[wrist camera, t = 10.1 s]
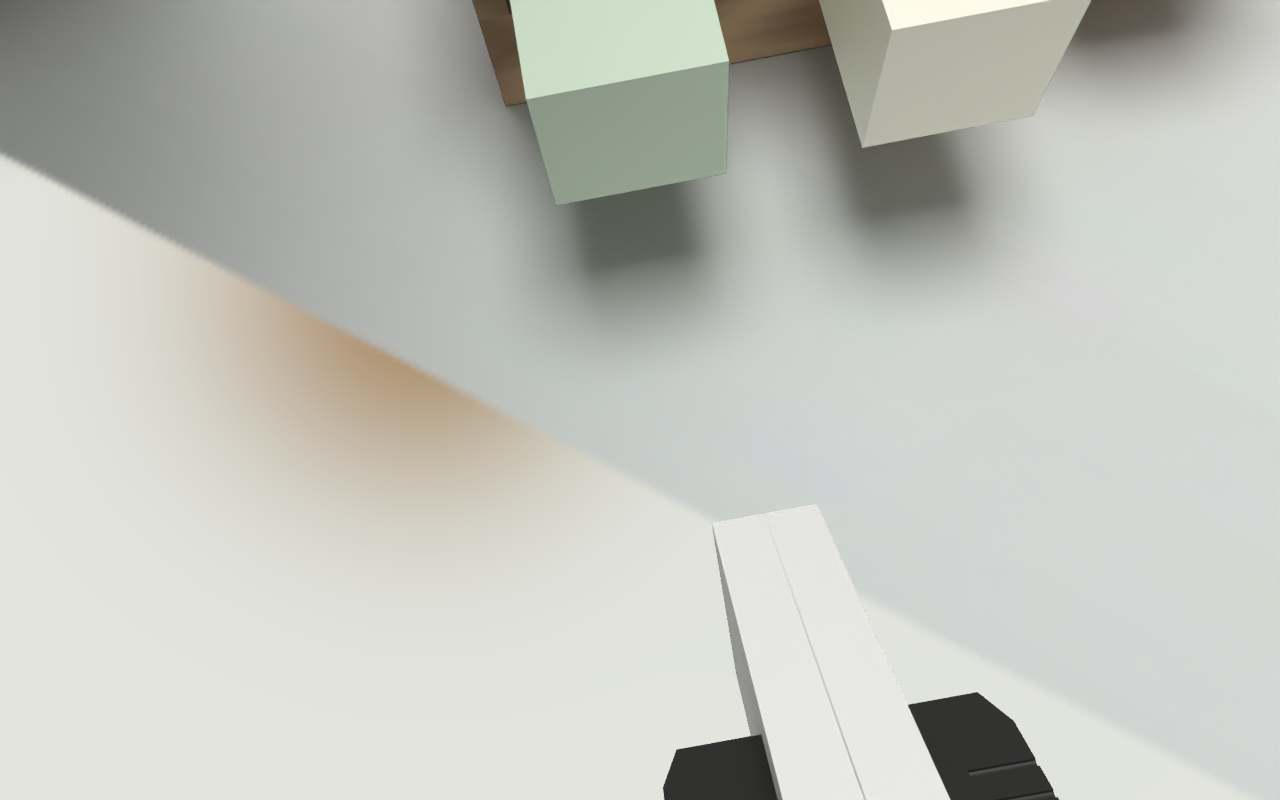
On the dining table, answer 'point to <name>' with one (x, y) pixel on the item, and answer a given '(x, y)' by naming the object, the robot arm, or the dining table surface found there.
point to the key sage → (624, 92)
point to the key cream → (946, 61)
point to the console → (749, 18)
